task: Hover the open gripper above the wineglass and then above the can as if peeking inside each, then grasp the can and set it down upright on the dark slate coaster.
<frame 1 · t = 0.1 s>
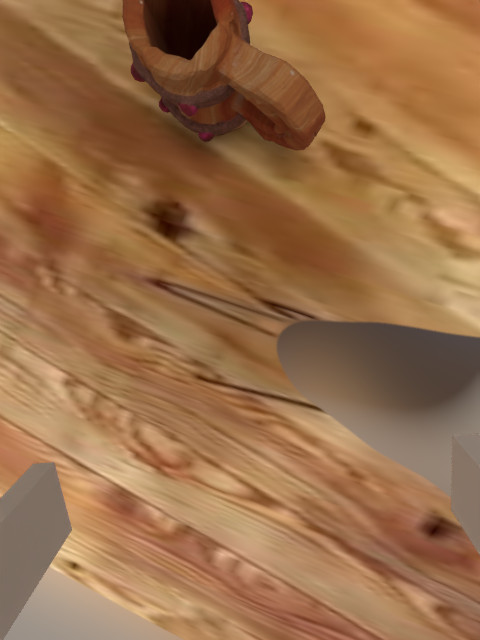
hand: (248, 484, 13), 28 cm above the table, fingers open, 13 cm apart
mug: (237, 111, 36), on the table
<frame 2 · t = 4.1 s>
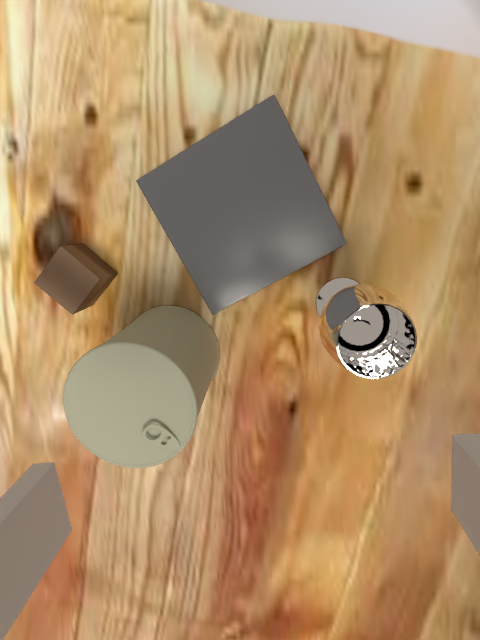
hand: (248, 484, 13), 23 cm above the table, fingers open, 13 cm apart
walnut block: (88, 274, 36), on the table
coaster: (241, 212, 34), on the table
can: (172, 352, 37), on the table
wineglass: (340, 302, 35), on the table
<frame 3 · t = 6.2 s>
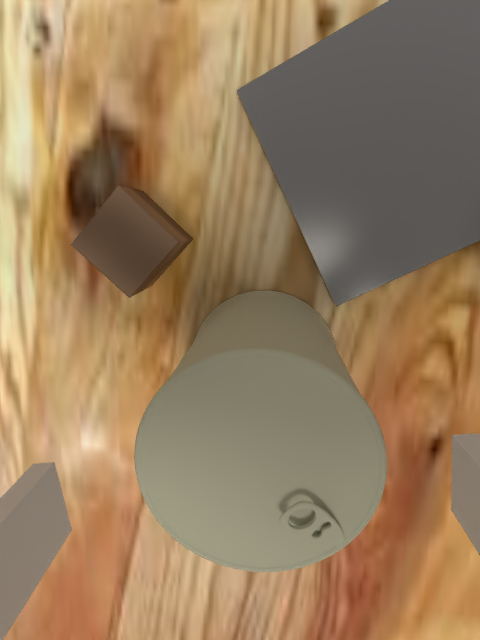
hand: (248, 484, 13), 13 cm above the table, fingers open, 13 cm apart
walnut block: (147, 240, 24), on the table
coaster: (396, 148, 22), on the table
can: (263, 359, 25), on the table
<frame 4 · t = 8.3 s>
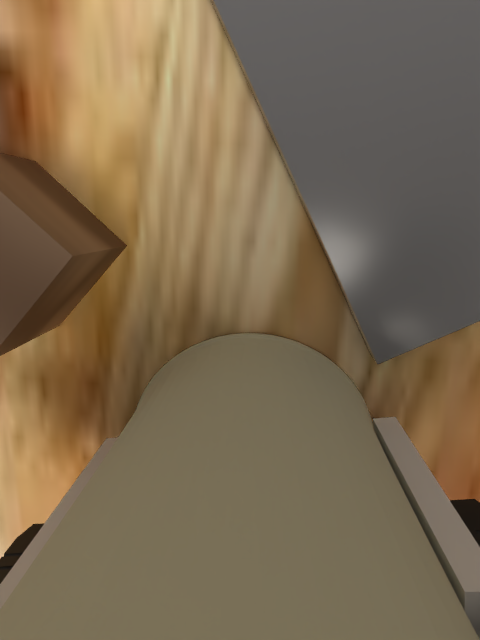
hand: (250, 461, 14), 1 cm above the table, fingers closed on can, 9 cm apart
walnut block: (49, 247, 14), on the table
can: (251, 443, 15), on the table, touching gripper
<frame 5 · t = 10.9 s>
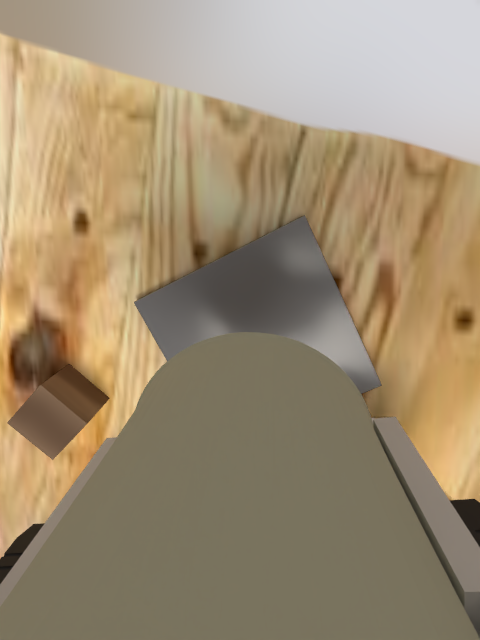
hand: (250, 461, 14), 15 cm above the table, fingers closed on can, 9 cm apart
walnut block: (74, 397, 31), on the table
coaster: (258, 340, 28), on the table
can: (251, 442, 15), point 13 cm above the table, touching gripper
when the fingers open (3 cm above the table, at t = 13.8 s): can drops 1 cm, resting on coaster.
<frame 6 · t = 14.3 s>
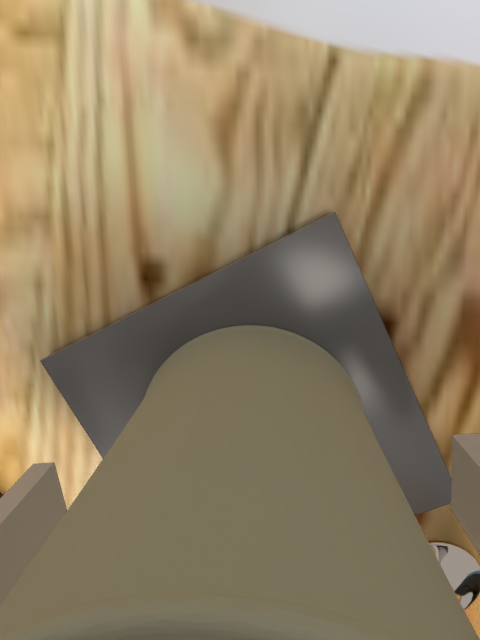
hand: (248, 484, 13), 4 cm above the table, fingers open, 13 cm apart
coaster: (252, 421, 17), on the table
can: (251, 428, 16), point 1 cm above the table, touching coaster
wineglass: (430, 576, 19), on the table
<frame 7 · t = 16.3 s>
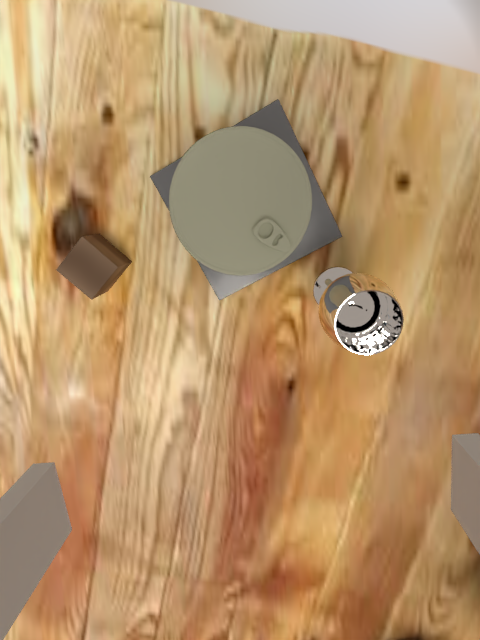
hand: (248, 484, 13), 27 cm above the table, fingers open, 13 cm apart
walnut block: (104, 263, 39), on the table
coaster: (247, 206, 37), on the table
can: (246, 206, 36), point 1 cm above the table, touching coaster
wineglass: (335, 289, 39), on the table
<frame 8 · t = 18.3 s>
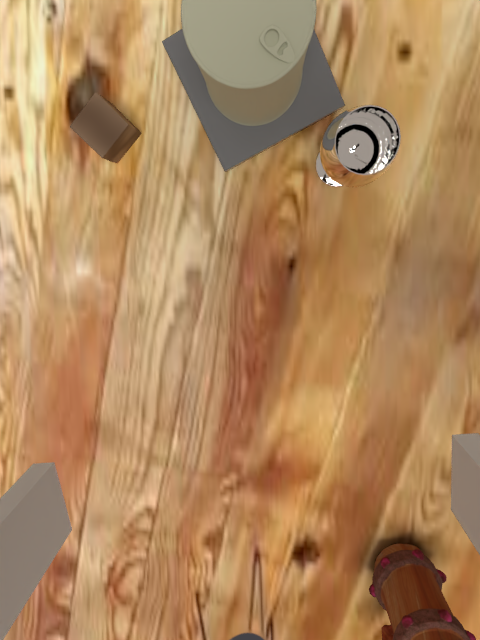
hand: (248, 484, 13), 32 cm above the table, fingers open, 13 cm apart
walnut block: (114, 134, 41), on the table
coaster: (254, 76, 38), on the table
mug: (390, 574, 52), on the table
can: (253, 74, 38), point 1 cm above the table, touching coaster
wineglass: (337, 163, 40), on the table
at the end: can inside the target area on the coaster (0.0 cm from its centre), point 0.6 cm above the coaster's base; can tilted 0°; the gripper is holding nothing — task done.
